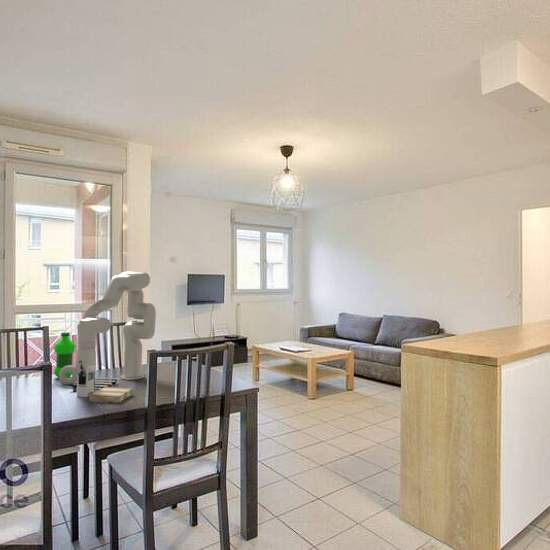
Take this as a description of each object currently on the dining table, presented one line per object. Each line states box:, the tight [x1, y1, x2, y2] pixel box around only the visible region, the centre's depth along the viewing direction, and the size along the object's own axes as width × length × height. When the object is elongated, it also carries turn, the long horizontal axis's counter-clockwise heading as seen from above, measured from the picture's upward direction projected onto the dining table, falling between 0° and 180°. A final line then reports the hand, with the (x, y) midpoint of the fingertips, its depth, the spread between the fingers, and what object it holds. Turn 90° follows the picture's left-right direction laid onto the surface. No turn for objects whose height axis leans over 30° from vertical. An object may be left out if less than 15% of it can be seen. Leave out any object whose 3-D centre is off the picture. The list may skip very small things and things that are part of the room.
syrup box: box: [76, 364, 96, 398], centre depth 199 cm, size 6×6×14 cm
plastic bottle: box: [53, 331, 76, 379], centre depth 232 cm, size 10×10×25 cm
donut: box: [58, 365, 77, 385], centre depth 218 cm, size 10×4×10 cm, turn 98°
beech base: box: [88, 386, 134, 404], centre depth 196 cm, size 14×14×3 cm
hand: (85, 382), depth 199 cm, fingers closed on syrup box, 6 cm apart
